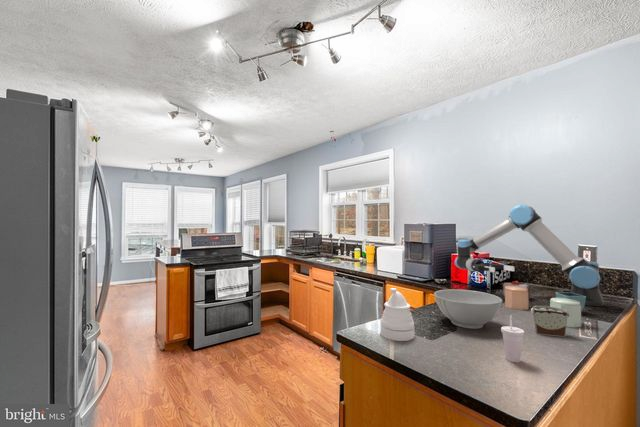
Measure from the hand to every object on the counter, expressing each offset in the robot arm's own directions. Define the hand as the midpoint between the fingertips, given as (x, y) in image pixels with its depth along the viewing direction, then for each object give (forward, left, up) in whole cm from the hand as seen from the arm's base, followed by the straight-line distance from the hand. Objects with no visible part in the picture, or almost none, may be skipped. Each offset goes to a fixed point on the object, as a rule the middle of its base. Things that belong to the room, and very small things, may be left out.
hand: (504, 269), depth 169 cm
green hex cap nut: (+4, +36, -18) cm, 40 cm away
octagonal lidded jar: (+2, +10, -18) cm, 21 cm away
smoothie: (+58, +59, -18) cm, 85 cm away
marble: (+5, +22, -17) cm, 28 cm away
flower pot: (-16, +24, -18) cm, 34 cm away
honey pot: (+83, +30, -18) cm, 90 cm away
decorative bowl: (+47, +26, -18) cm, 57 cm away
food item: (-15, -7, -18) cm, 25 cm away
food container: (+23, +43, -18) cm, 52 cm away
